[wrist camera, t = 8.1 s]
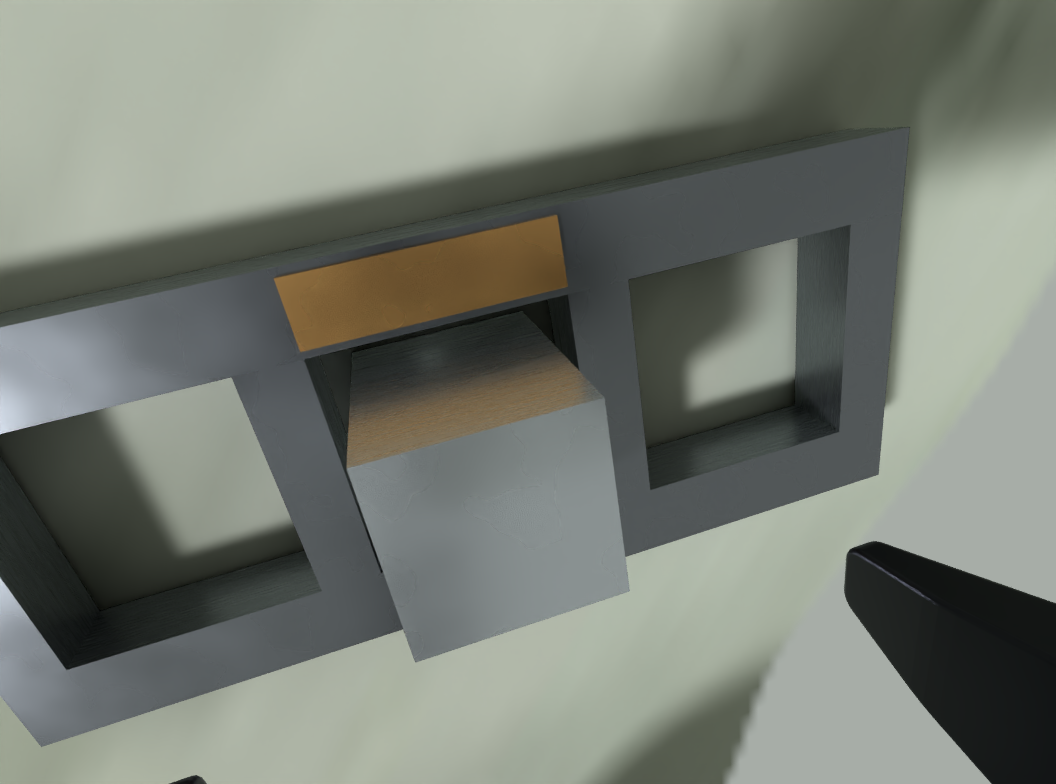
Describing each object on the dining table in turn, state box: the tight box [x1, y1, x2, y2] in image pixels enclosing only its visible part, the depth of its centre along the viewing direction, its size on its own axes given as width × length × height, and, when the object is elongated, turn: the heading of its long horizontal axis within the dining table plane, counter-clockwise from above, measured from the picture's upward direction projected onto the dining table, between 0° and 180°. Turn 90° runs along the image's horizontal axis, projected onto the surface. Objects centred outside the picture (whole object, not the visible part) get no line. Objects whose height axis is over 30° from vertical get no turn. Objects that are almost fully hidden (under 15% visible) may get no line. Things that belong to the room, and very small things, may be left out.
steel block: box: [346, 311, 630, 662], centre depth 14 cm, size 4×4×6 cm
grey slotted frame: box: [0, 127, 910, 747], centre depth 15 cm, size 10×24×2 cm, turn 100°
